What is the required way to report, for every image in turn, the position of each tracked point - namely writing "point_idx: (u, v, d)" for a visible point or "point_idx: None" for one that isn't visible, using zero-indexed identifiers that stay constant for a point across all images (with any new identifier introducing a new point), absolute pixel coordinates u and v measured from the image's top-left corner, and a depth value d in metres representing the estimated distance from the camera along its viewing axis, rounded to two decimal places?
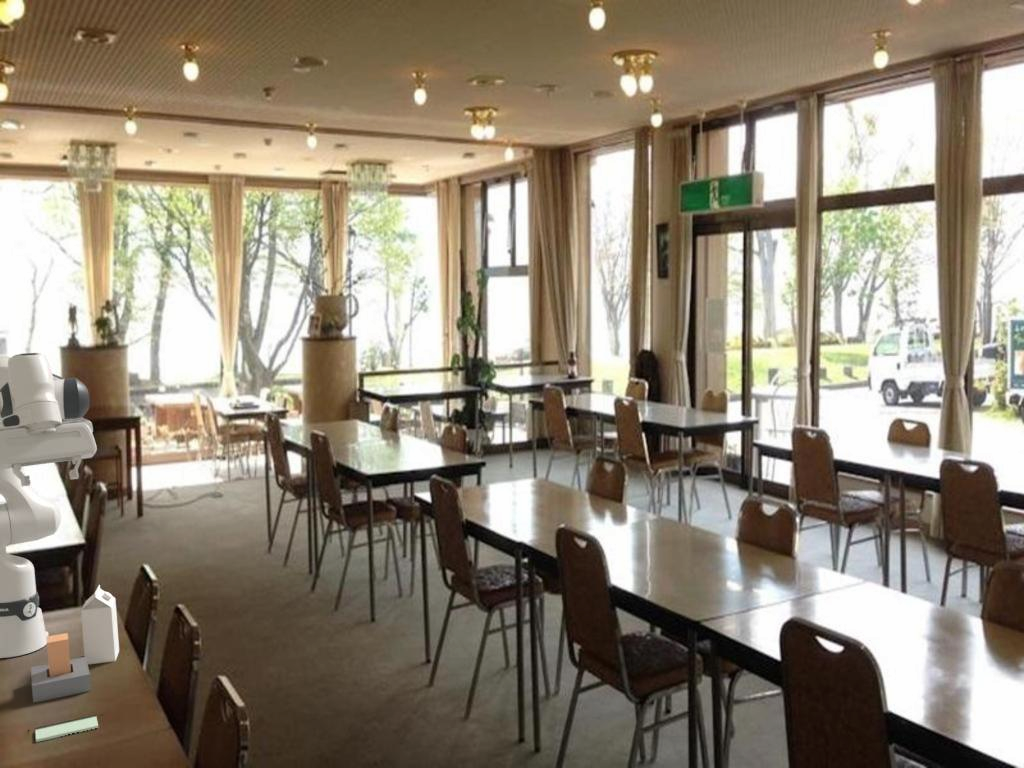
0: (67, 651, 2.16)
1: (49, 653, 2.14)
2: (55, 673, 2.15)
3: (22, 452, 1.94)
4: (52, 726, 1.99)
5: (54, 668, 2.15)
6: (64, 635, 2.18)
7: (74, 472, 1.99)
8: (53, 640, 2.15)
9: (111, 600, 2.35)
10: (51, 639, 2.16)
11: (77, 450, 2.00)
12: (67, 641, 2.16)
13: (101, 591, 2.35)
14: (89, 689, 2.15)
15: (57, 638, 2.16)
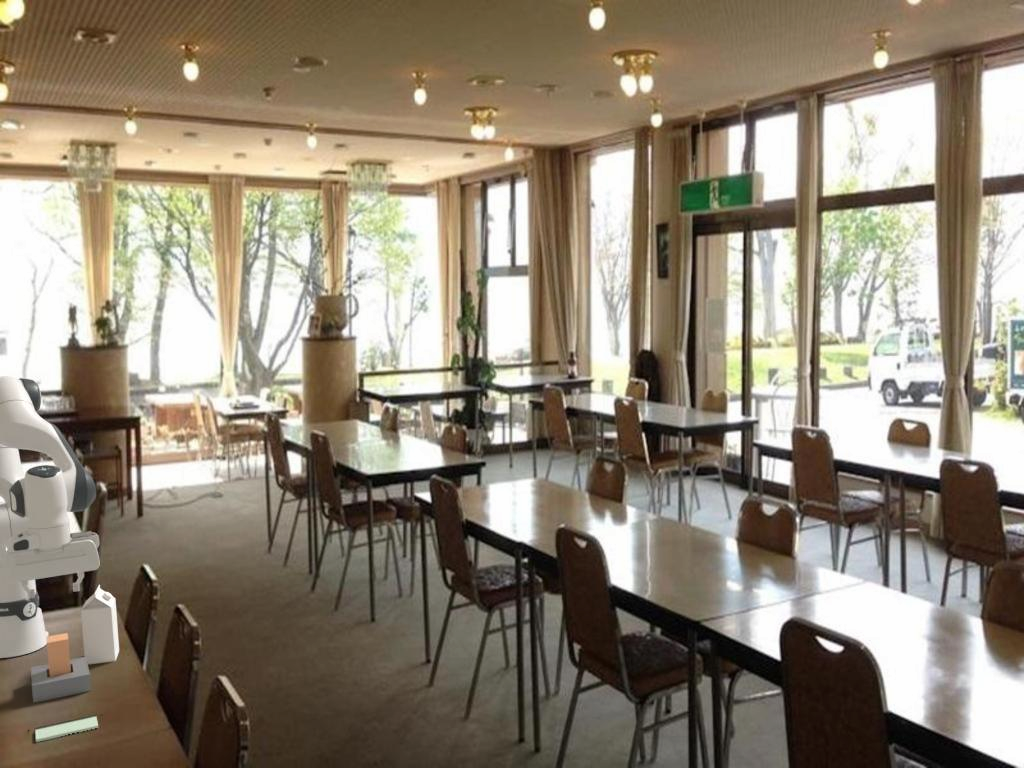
0: (67, 651, 2.16)
1: (49, 653, 2.14)
2: (55, 673, 2.15)
3: (29, 571, 2.10)
4: (52, 726, 1.99)
5: (54, 668, 2.15)
6: (64, 635, 2.18)
7: (76, 587, 2.16)
8: (53, 640, 2.15)
9: (111, 600, 2.35)
10: (51, 639, 2.16)
11: (81, 568, 2.16)
12: (67, 641, 2.16)
13: (101, 591, 2.35)
14: (89, 689, 2.15)
15: (57, 638, 2.16)
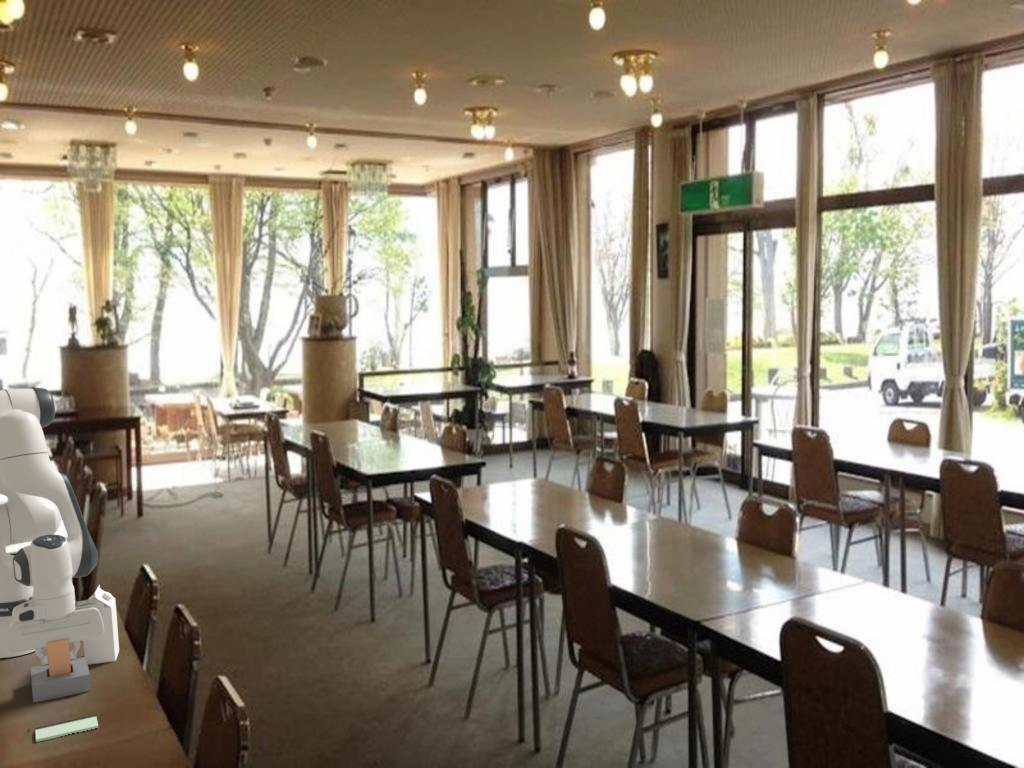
0: (67, 651, 2.16)
1: (49, 653, 2.14)
2: (55, 673, 2.15)
3: (34, 640, 2.13)
4: (52, 726, 1.99)
5: (54, 668, 2.15)
6: None
7: (73, 656, 2.18)
8: None
9: (111, 600, 2.35)
10: None
11: (85, 636, 2.18)
12: (67, 641, 2.16)
13: (101, 591, 2.35)
14: (89, 689, 2.15)
15: None
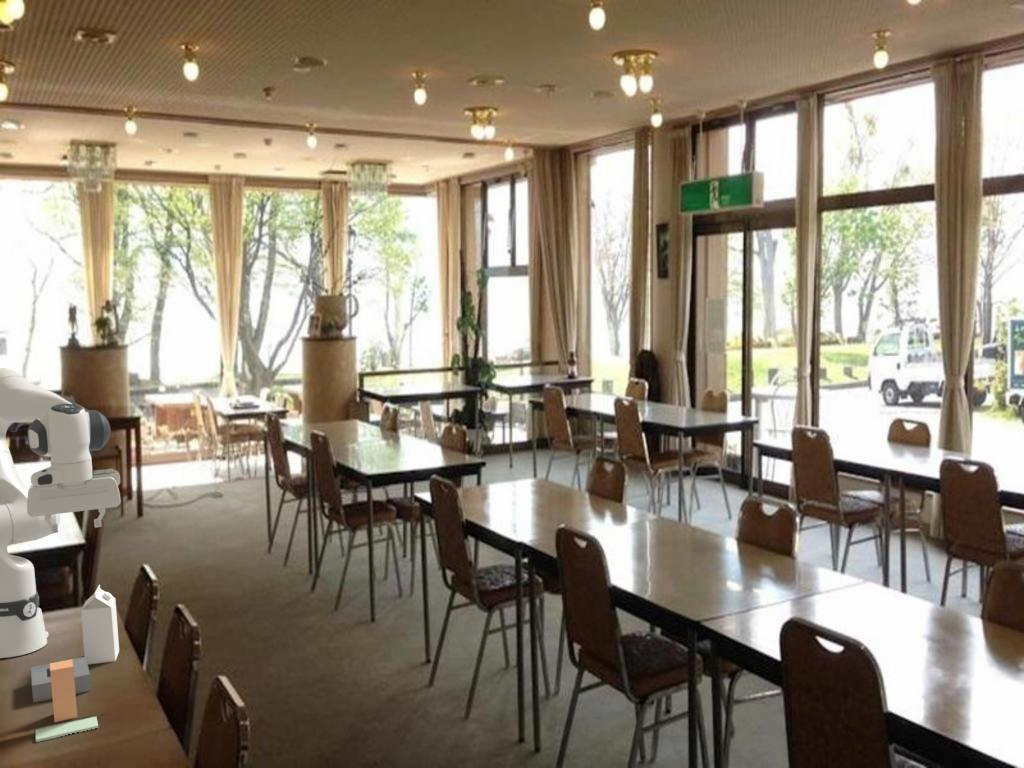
0: (72, 679, 2.01)
1: (53, 682, 1.99)
2: (59, 703, 2.00)
3: (52, 505, 2.16)
4: (52, 726, 1.99)
5: (58, 697, 2.00)
6: (69, 662, 2.03)
7: (98, 523, 2.22)
8: (57, 667, 2.00)
9: (111, 600, 2.35)
10: (54, 666, 2.01)
11: (102, 504, 2.21)
12: (72, 668, 2.01)
13: (101, 591, 2.35)
14: (89, 689, 2.15)
15: (62, 665, 2.02)
